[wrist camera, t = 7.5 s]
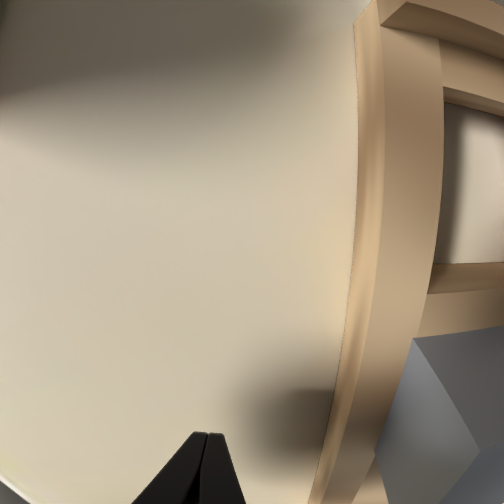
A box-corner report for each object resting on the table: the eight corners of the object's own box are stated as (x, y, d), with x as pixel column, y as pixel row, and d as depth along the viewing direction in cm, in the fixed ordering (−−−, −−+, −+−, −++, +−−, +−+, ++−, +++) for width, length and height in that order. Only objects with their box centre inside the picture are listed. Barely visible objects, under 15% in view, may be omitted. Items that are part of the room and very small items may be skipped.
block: (482, 424, 9) (519, 493, 5) (374, 450, 9) (398, 542, 5) (531, 319, 7) (600, 387, 4) (412, 337, 8) (480, 451, 4)
